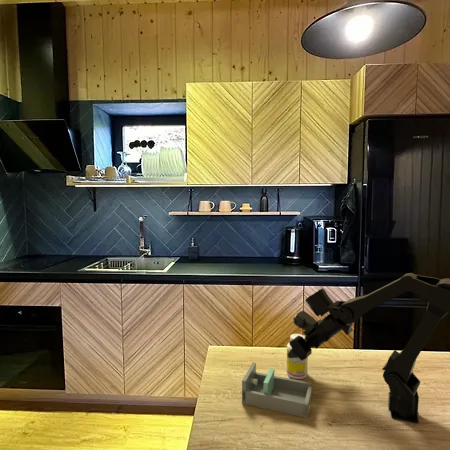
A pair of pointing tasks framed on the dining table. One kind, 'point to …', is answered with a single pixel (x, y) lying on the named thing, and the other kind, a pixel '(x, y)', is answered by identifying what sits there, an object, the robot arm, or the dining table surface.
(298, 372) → the supplement bottle
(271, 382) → the pusher plate
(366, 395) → the dining table surface
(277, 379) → the tray
